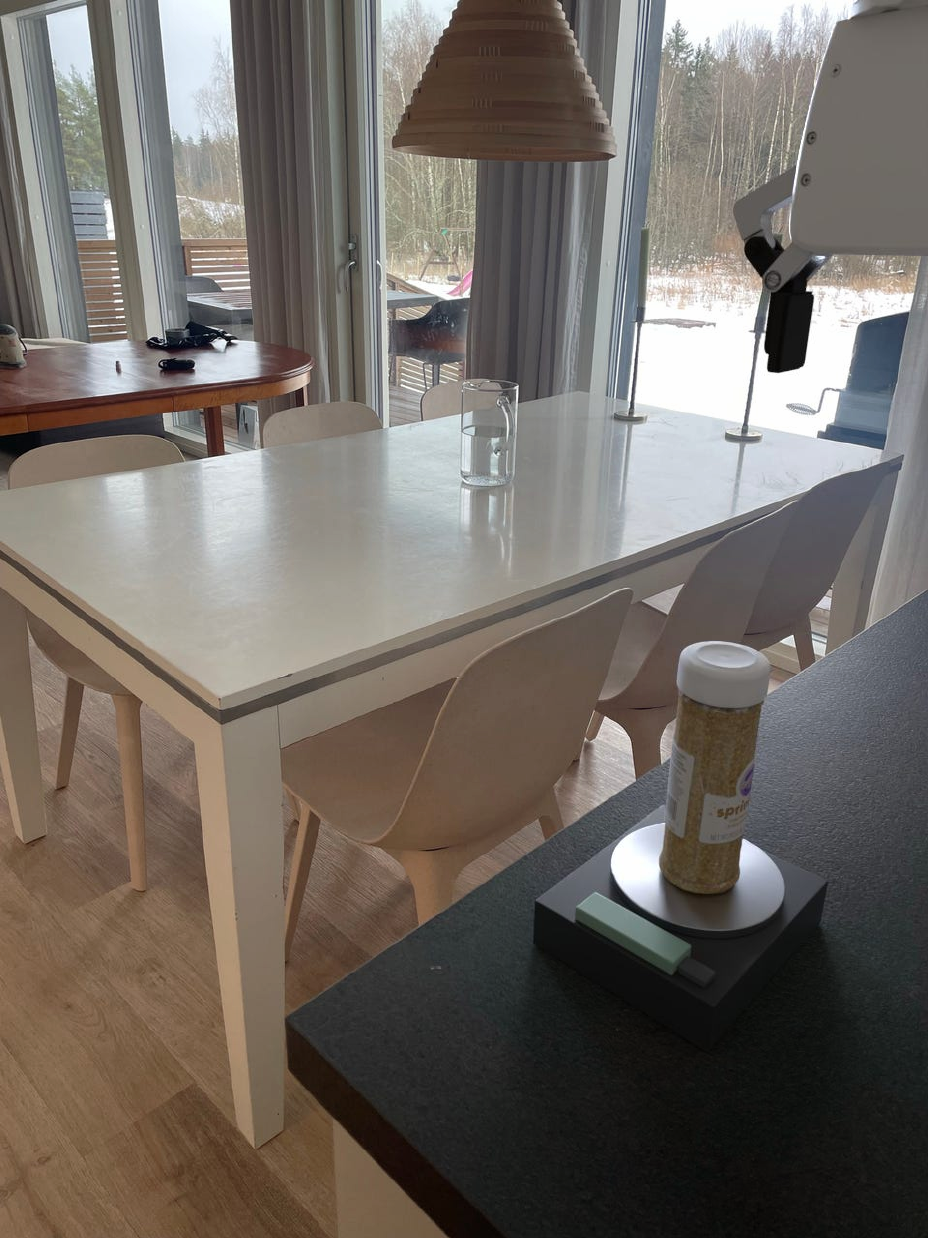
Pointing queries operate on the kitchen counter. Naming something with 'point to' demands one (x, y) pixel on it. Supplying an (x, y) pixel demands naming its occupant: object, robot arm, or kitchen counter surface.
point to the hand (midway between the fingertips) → (875, 379)
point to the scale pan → (696, 912)
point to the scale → (671, 947)
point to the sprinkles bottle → (712, 764)
